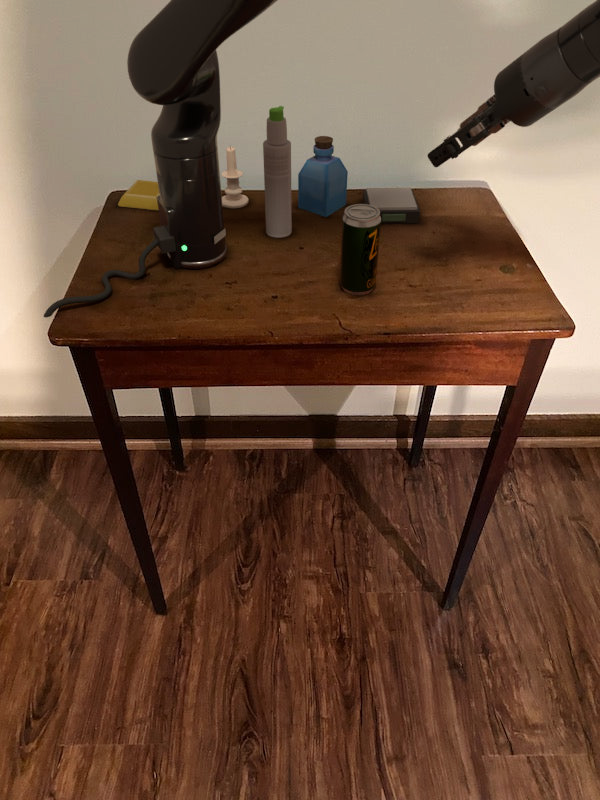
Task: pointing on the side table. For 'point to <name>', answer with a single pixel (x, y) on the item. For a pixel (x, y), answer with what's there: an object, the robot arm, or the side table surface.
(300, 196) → the perfume bottle
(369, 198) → the kitchen scale
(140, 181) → the yellow flat block
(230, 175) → the candle
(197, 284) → the side table surface
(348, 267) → the beer can
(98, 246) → the side table surface
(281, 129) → the bottle
